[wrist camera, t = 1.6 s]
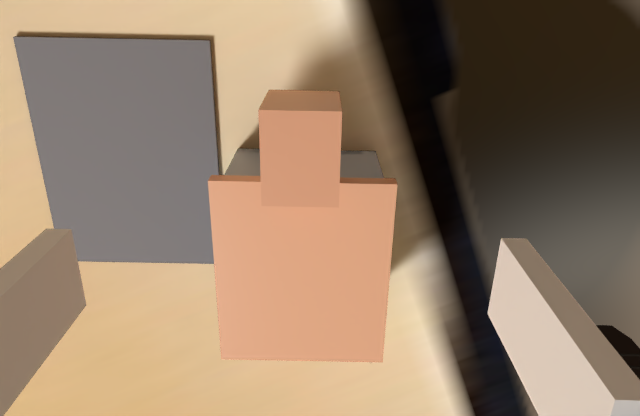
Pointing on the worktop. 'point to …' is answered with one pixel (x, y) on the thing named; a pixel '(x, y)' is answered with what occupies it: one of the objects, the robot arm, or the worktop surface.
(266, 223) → the lid
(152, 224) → the mat
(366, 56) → the worktop surface
